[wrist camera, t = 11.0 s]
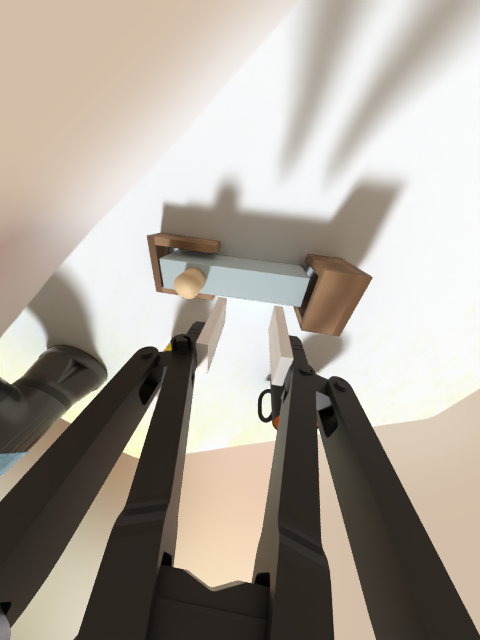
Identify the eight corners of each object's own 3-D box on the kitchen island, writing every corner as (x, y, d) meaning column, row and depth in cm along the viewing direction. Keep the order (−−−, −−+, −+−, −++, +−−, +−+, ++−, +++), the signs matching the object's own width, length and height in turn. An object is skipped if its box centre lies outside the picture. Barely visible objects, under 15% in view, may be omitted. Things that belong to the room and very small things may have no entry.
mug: (250, 376, 40) (246, 421, 32) (298, 360, 36) (309, 407, 27) (266, 395, 44) (267, 440, 35) (312, 382, 39) (326, 431, 31)
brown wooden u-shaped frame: (166, 283, 30) (156, 291, 27) (160, 232, 25) (146, 235, 22) (217, 291, 29) (212, 300, 26) (219, 241, 25) (214, 245, 22)
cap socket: (292, 302, 29) (301, 330, 22) (307, 254, 24) (324, 270, 18) (321, 307, 29) (339, 336, 22) (342, 258, 24) (372, 277, 18)
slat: (181, 274, 29) (152, 297, 21) (178, 249, 26) (145, 265, 19) (293, 289, 28) (304, 319, 20) (300, 265, 26) (316, 287, 18)
